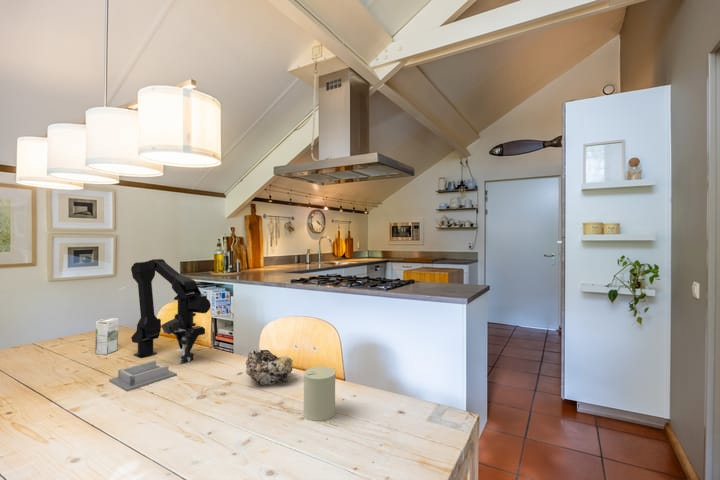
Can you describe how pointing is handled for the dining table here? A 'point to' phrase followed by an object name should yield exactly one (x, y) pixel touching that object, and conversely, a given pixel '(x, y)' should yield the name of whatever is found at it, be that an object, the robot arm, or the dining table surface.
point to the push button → (185, 352)
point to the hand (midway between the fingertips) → (185, 349)
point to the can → (319, 393)
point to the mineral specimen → (268, 367)
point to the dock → (141, 375)
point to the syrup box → (106, 336)
